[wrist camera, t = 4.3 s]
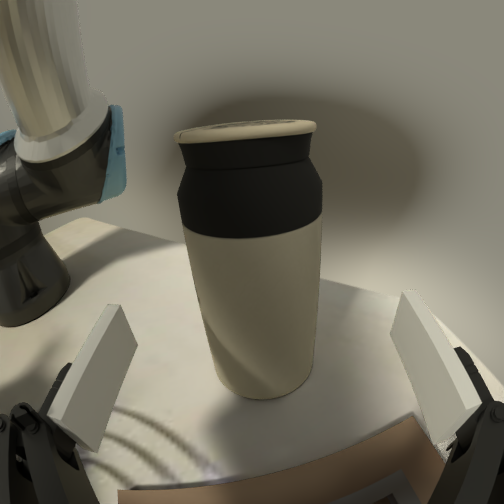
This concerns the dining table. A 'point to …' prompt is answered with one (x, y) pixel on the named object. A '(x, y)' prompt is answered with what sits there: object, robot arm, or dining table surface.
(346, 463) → the dock
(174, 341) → the dining table surface
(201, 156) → the travel mug
